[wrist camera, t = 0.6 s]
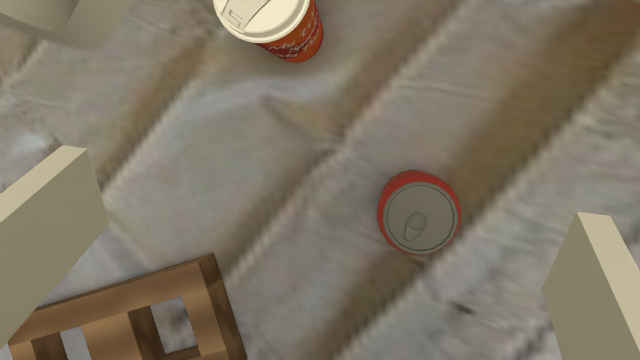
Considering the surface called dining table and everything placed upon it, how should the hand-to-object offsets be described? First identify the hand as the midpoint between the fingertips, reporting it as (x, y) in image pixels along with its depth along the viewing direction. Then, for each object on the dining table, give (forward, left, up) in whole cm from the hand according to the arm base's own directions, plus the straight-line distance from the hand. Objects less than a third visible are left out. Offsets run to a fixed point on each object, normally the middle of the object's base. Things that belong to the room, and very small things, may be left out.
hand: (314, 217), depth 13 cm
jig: (-9, +31, -34) cm, 47 cm away
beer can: (-4, -3, -35) cm, 35 cm away
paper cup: (+16, +3, -35) cm, 38 cm away
